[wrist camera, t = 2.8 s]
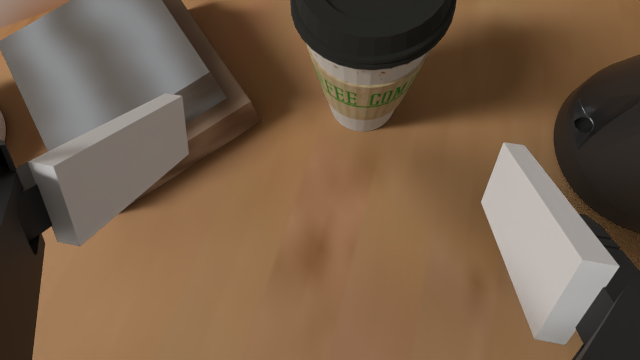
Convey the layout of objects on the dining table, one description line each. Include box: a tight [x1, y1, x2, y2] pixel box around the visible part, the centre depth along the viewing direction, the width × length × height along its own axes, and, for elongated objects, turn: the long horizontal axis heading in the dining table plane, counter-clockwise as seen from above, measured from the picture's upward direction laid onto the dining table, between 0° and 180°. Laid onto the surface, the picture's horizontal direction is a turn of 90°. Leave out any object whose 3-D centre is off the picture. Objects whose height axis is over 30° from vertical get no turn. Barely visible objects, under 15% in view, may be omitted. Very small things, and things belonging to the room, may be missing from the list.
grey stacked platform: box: [0, 0, 261, 208], centre depth 32 cm, size 16×16×8 cm
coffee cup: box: [290, 0, 456, 132], centre depth 27 cm, size 10×10×15 cm
